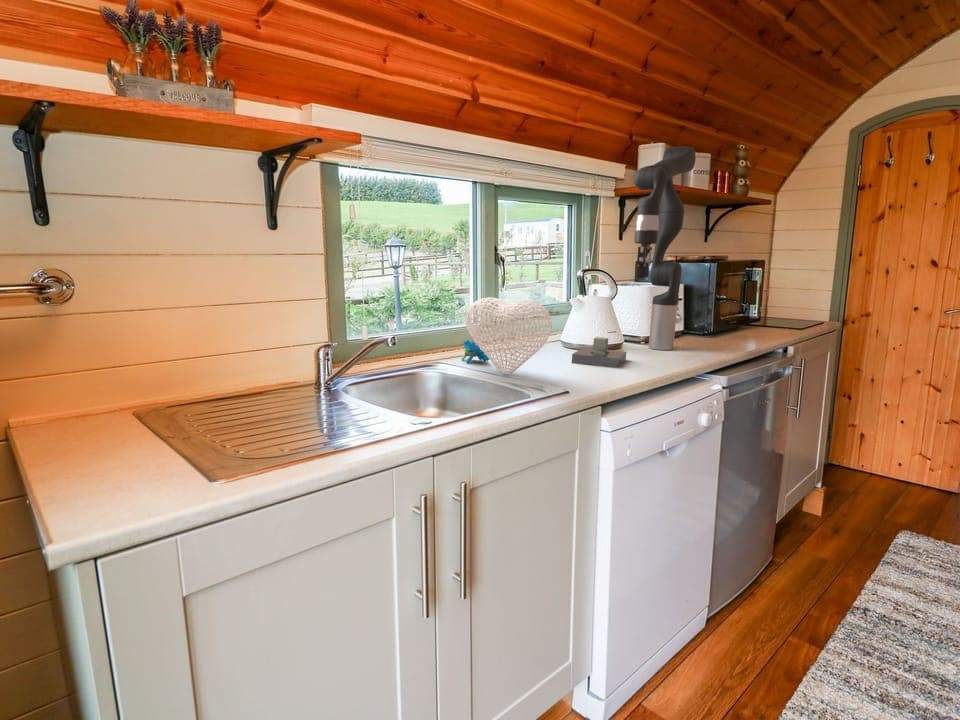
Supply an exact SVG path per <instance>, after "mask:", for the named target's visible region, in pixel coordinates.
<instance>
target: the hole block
mask: <svg viewBox="0 0 960 720" xmlns="http://www.w3.org/2000/svg"><path fill="white" fill-rule="evenodd" d="M626 360H627V351H626V350H625V351H624V350H615V349H613V350H612V349H608V350H607V355H602V354H593V347H591V348H590V347H582V348H580V349H578V350H576V351H575V352H573V353H572V354H571V364H579V365H589V366H596V367H604V368H605V367H606V368H615V369H618V368H619V367H621V365H622V364H624V363H625V361H626ZM617 367H618V368H617Z"/></svg>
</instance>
